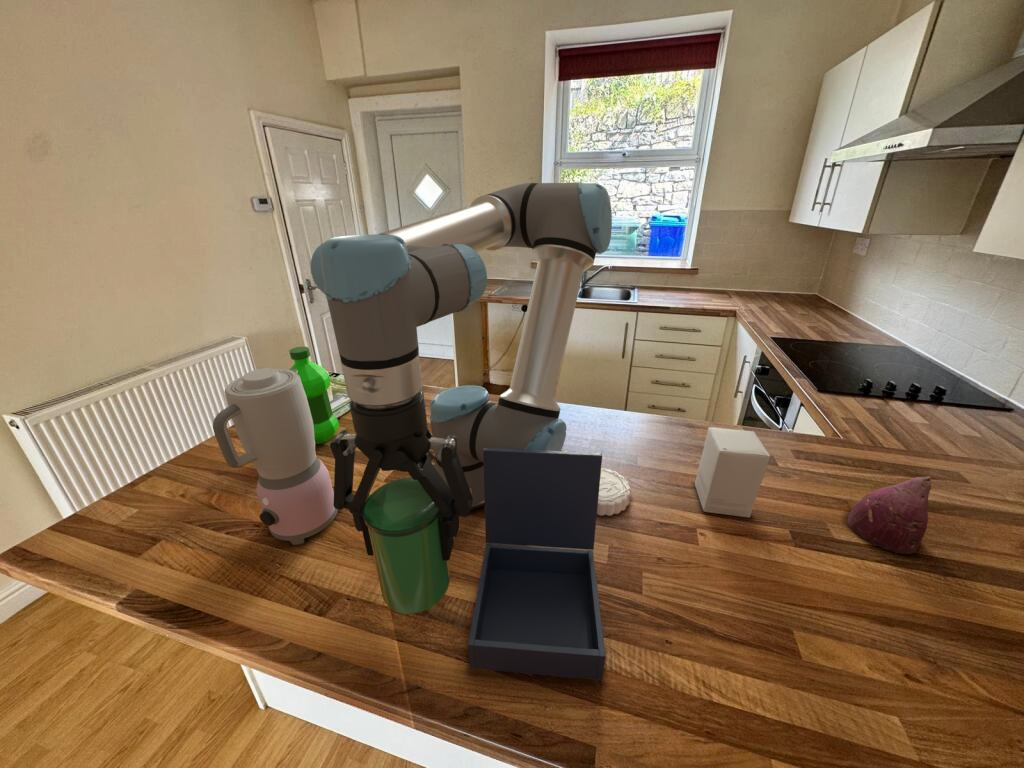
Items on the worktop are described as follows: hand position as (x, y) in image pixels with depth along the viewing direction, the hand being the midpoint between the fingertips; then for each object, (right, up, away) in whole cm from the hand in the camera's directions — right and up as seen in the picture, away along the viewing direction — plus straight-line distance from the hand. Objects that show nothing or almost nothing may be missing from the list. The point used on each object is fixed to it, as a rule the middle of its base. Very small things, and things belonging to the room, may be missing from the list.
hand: (411, 549), depth 51 cm
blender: (-28, -7, +26) cm, 39 cm away
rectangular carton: (+57, -3, +32) cm, 65 cm away
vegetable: (+83, -7, +24) cm, 87 cm away
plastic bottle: (-38, +7, +54) cm, 66 cm away
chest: (+17, -14, +10) cm, 24 cm away
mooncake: (+32, -3, +34) cm, 46 cm away
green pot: (0, -6, +3) cm, 6 cm away
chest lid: (+17, +3, +11) cm, 21 cm away
